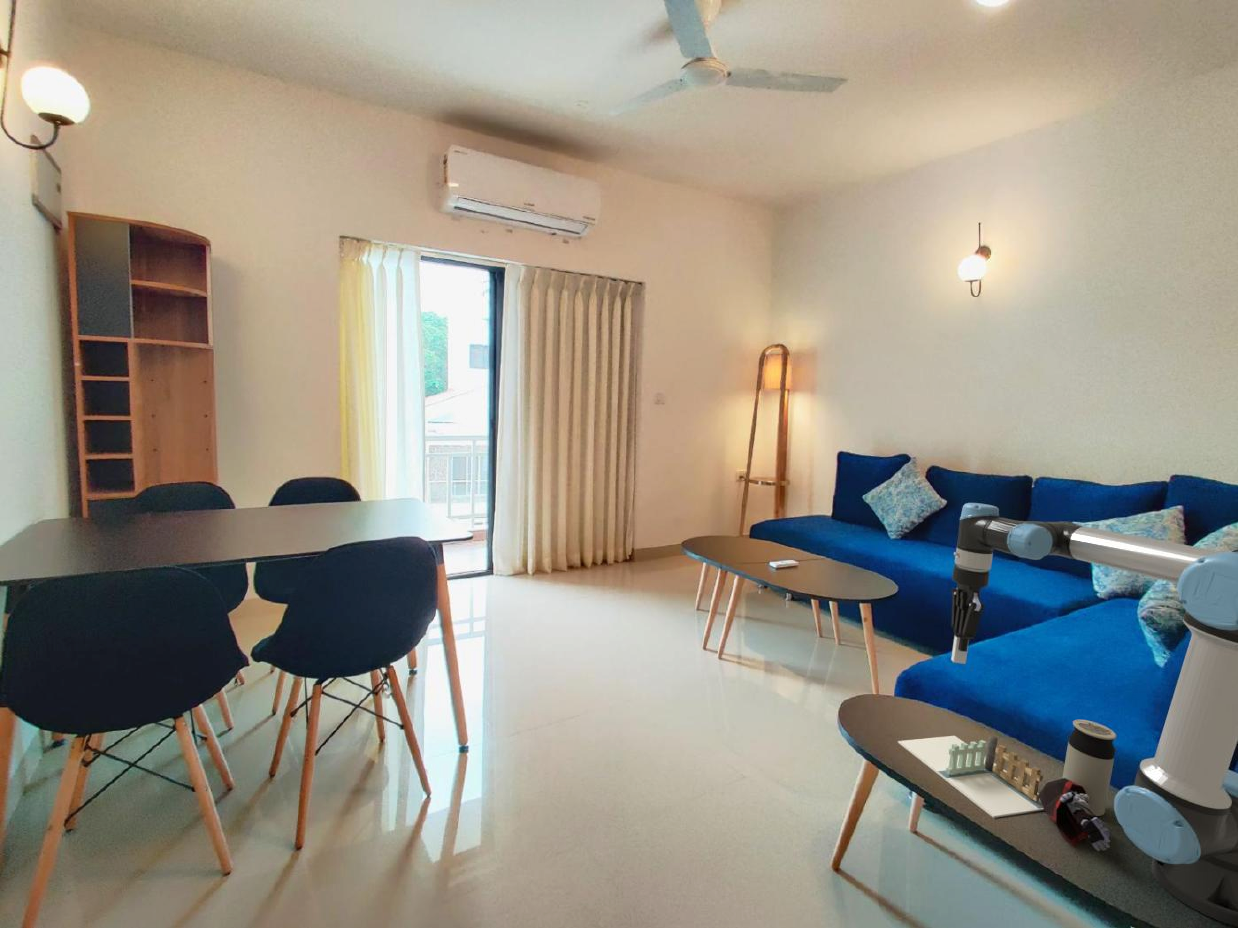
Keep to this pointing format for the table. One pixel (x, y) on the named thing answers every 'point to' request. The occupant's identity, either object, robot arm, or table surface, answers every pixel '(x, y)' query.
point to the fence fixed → (1012, 768)
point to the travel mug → (1091, 761)
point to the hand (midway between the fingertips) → (958, 661)
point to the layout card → (973, 779)
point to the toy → (1073, 813)
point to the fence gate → (962, 753)
